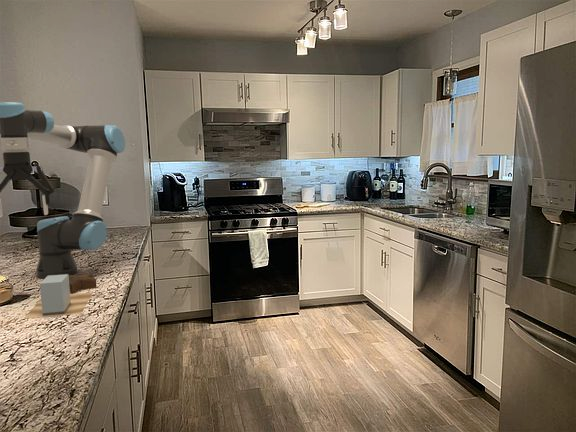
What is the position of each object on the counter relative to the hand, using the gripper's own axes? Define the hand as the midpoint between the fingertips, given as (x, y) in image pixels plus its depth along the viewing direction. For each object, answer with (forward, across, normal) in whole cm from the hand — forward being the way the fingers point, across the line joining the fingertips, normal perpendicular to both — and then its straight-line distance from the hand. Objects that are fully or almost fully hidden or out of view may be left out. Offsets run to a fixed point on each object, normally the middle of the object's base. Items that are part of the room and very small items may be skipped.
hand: (23, 215), depth 152 cm
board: (+28, +11, -13) cm, 33 cm away
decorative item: (+29, +12, +7) cm, 33 cm away
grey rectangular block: (+28, +11, -18) cm, 35 cm away
